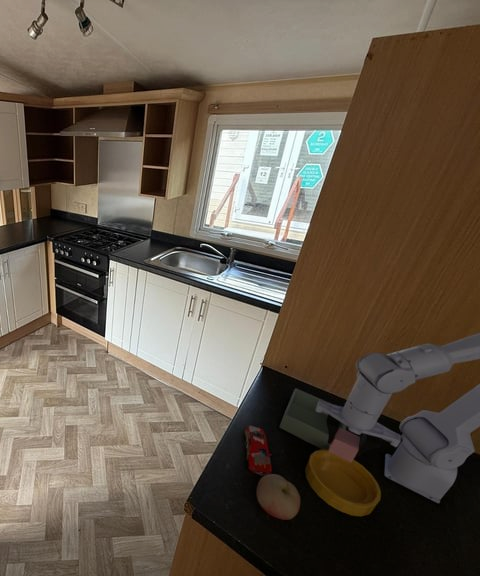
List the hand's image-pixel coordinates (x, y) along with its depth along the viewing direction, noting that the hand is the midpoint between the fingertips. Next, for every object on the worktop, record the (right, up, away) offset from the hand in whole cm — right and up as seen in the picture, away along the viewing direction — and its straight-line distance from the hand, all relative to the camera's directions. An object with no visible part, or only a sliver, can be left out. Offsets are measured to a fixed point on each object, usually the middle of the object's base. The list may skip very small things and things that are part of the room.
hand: (342, 447), depth 73 cm
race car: (-16, -6, +8) cm, 19 cm away
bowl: (-1, -9, 0) cm, 9 cm away
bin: (+3, -2, +15) cm, 15 cm away
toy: (0, -1, 0) cm, 1 cm away
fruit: (-18, -11, -4) cm, 22 cm away
